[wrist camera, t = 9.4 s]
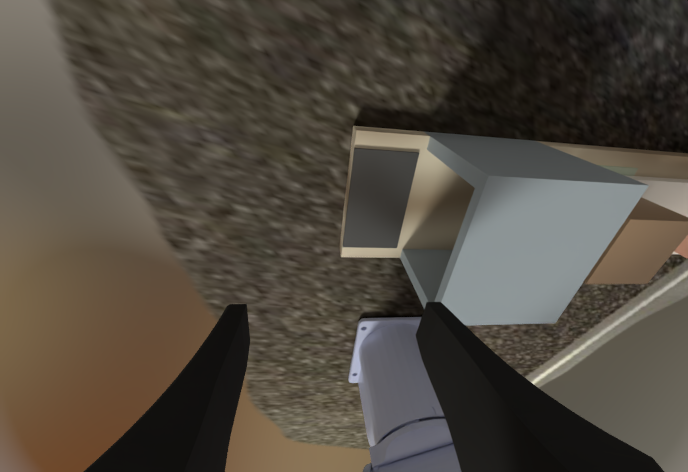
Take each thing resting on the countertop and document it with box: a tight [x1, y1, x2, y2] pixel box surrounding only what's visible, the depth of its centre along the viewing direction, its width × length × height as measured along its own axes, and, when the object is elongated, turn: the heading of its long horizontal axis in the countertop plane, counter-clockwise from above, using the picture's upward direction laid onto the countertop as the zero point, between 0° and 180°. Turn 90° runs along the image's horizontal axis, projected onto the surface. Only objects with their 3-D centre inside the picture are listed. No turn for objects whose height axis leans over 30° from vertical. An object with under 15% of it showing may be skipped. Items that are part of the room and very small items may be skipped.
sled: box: [584, 175, 688, 284], centre depth 20 cm, size 6×17×5 cm, turn 84°
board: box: [340, 126, 688, 258], centre depth 22 cm, size 9×27×1 cm, turn 84°
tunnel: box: [400, 132, 649, 325], centre depth 18 cm, size 9×8×8 cm
